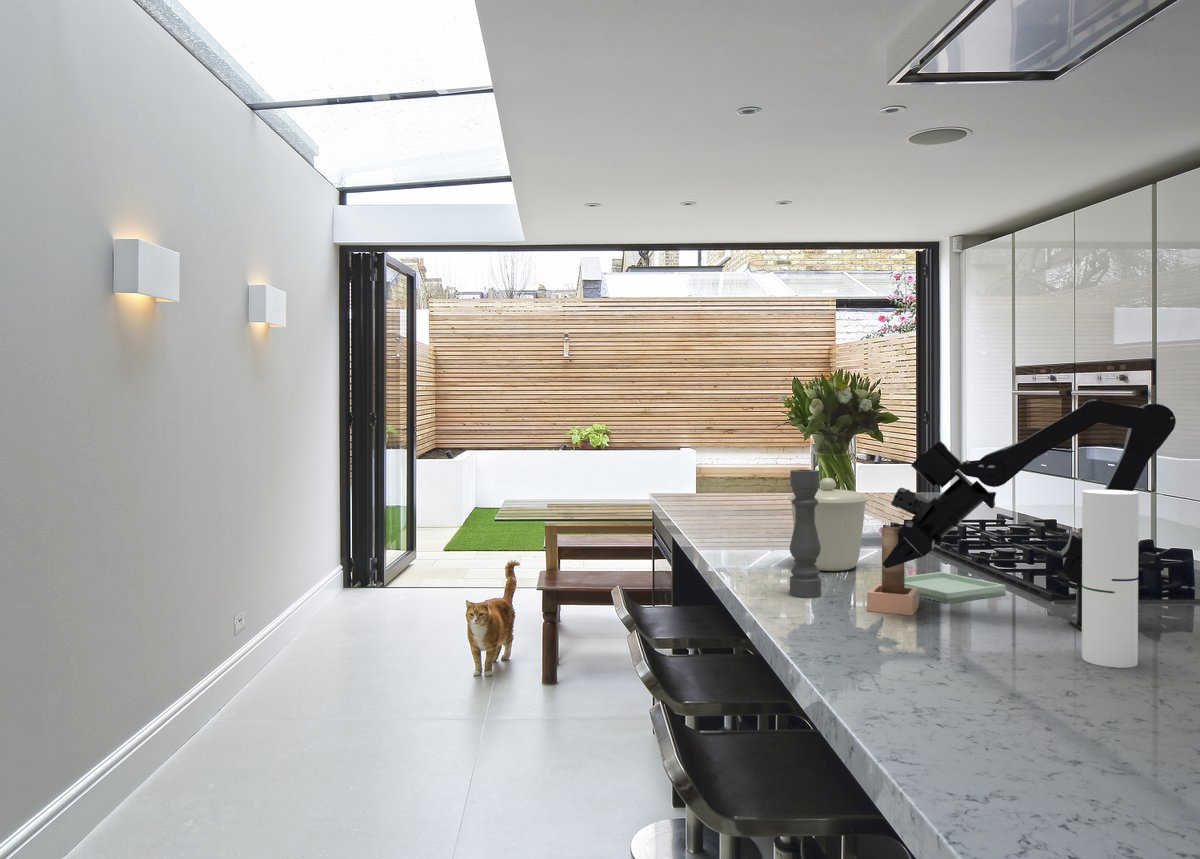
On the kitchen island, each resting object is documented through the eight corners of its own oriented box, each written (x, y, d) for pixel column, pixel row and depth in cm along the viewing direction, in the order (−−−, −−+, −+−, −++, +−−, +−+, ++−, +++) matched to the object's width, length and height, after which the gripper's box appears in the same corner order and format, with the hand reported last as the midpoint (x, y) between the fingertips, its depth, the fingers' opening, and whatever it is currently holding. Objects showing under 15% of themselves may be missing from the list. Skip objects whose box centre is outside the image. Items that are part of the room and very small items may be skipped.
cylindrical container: (1145, 668, 126) (1146, 494, 125) (1091, 666, 127) (1092, 494, 126) (1126, 654, 133) (1127, 489, 132) (1075, 652, 134) (1075, 489, 133)
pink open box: (918, 606, 166) (918, 587, 166) (912, 615, 159) (912, 596, 158) (875, 602, 169) (875, 584, 169) (867, 611, 162) (866, 592, 162)
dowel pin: (906, 611, 162) (906, 530, 161) (884, 611, 162) (883, 530, 162) (902, 606, 166) (902, 527, 165) (880, 606, 166) (880, 527, 166)
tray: (1005, 595, 174) (1005, 585, 174) (947, 603, 167) (947, 593, 167) (941, 581, 189) (941, 571, 189) (885, 588, 182) (885, 579, 182)
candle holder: (818, 591, 180) (818, 469, 179) (823, 598, 173) (822, 471, 173) (788, 591, 180) (787, 469, 180) (791, 597, 174) (790, 471, 173)
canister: (773, 565, 210) (772, 476, 209) (833, 558, 217) (832, 473, 217) (822, 578, 193) (821, 482, 193) (885, 570, 201) (885, 478, 201)
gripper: (926, 470, 169) (867, 523, 175) (911, 477, 153) (847, 536, 158) (970, 513, 166) (908, 566, 171) (960, 525, 149) (892, 584, 155)
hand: (888, 562), depth 164 cm, fingers open, 9 cm apart
